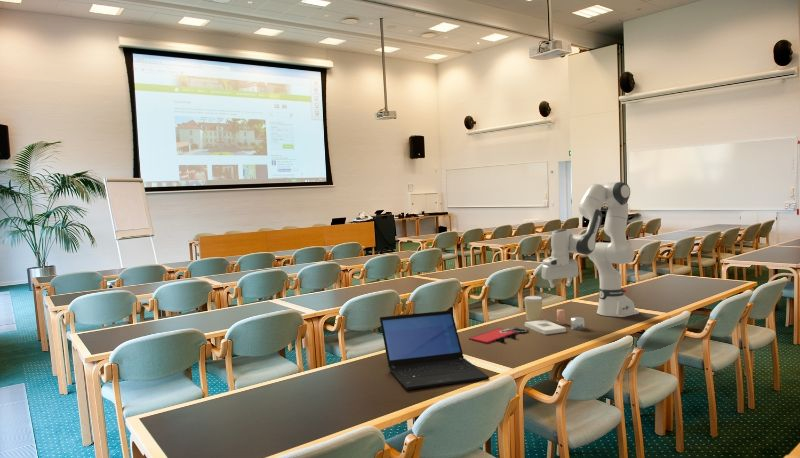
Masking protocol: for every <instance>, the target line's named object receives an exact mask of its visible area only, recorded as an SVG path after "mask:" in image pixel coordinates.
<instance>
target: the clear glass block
mask: <svg viewBox="0 0 800 458" xmlns="http://www.w3.org/2000/svg"><path fill="white" fill-rule="evenodd" d="M570 329H571V330H574V331H583V330H585V318H584V317H580V316H573V317H570Z"/></svg>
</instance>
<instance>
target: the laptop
mask: <svg viewBox="0 0 800 458" xmlns="http://www.w3.org/2000/svg"><path fill="white" fill-rule="evenodd" d="M379 322H380V326H381V327H380V328H381V332H382V337H383V344H384V349H385V354H386V360H387V365H388V368H389V371H390V373H391V374H393V376H394V377H395V378H396V379H397V380H398V382H399V383H400V385H402V386H403V388H405V389H406V390H408V391H413V390H419V389H425V388H432V387H441V386H447V385H452V384H453V385H456V384H461V383H463V384H464V383H468V382H469V383H470V382H475V381H477V382H478V381H484V380H485V381H486V380H488V379H490V377H489V375H488V374H486V372H484V371H482V370H481V369H480V368H478V367H477V366H476V365H474V364H473V363H471V361H469V360H467V359H466V358H465V357H464V354H463V349H462V345H461V342H460V337H459V333H458V329H457V326H456V321H455V318H454V315H453V313H452V311H451V310H441V311H431V312H420V313H409V314H399V315H390V316H389V315H387V316H381V317H379Z"/></svg>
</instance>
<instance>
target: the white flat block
mask: <svg viewBox="0 0 800 458" xmlns="http://www.w3.org/2000/svg"><path fill="white" fill-rule="evenodd" d="M524 327H526V328H528V329H531V330H532V331H535V332H537V333H539V334H543V335H545V336H546V335H551V334H559V333H566V331H567V329H566V326H562V325H560V324H557V323H554V322H552V321H550V320H547V319H541V320H538V321H525V322H524Z"/></svg>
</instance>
